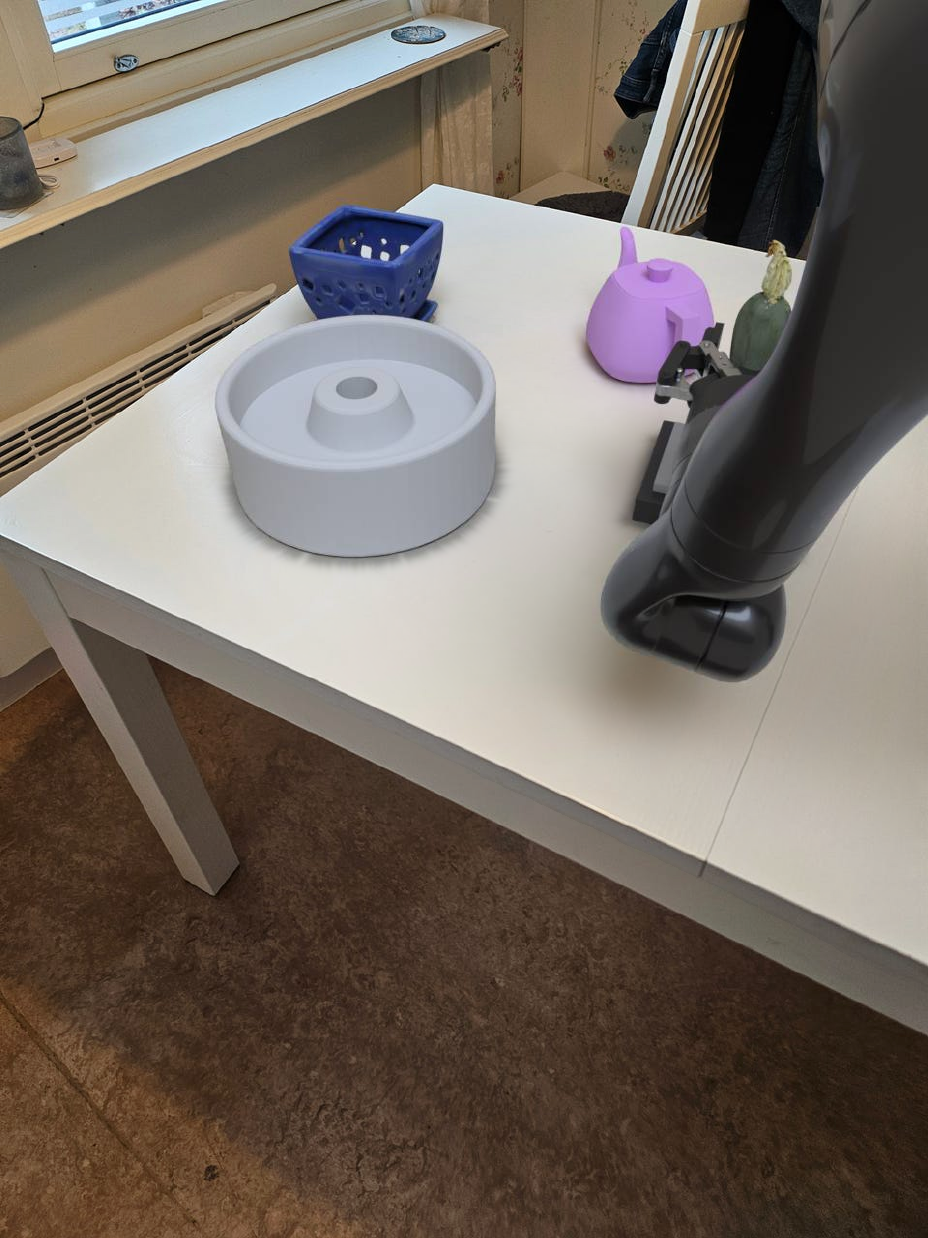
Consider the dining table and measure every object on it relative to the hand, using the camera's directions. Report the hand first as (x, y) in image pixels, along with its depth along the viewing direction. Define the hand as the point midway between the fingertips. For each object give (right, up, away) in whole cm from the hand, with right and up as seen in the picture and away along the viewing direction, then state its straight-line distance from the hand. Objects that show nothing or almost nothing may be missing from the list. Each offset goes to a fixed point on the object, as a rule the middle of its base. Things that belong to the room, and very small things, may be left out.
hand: (760, 339), depth 73 cm
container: (-34, -9, +12) cm, 38 cm away
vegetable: (-1, -9, +7) cm, 12 cm away
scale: (-1, -12, +9) cm, 15 cm away
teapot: (-4, +6, +26) cm, 27 cm away
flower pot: (-35, +10, +31) cm, 48 cm away
